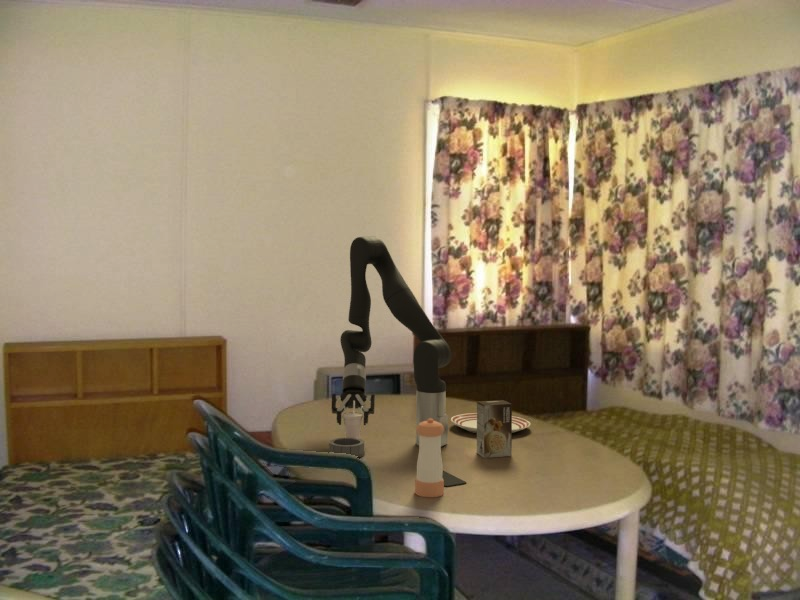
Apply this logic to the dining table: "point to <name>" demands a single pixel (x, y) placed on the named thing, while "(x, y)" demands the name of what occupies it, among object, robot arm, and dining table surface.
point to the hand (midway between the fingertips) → (352, 423)
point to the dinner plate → (470, 422)
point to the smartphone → (451, 480)
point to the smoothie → (352, 423)
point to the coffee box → (494, 428)
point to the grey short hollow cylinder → (347, 446)
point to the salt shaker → (429, 460)
